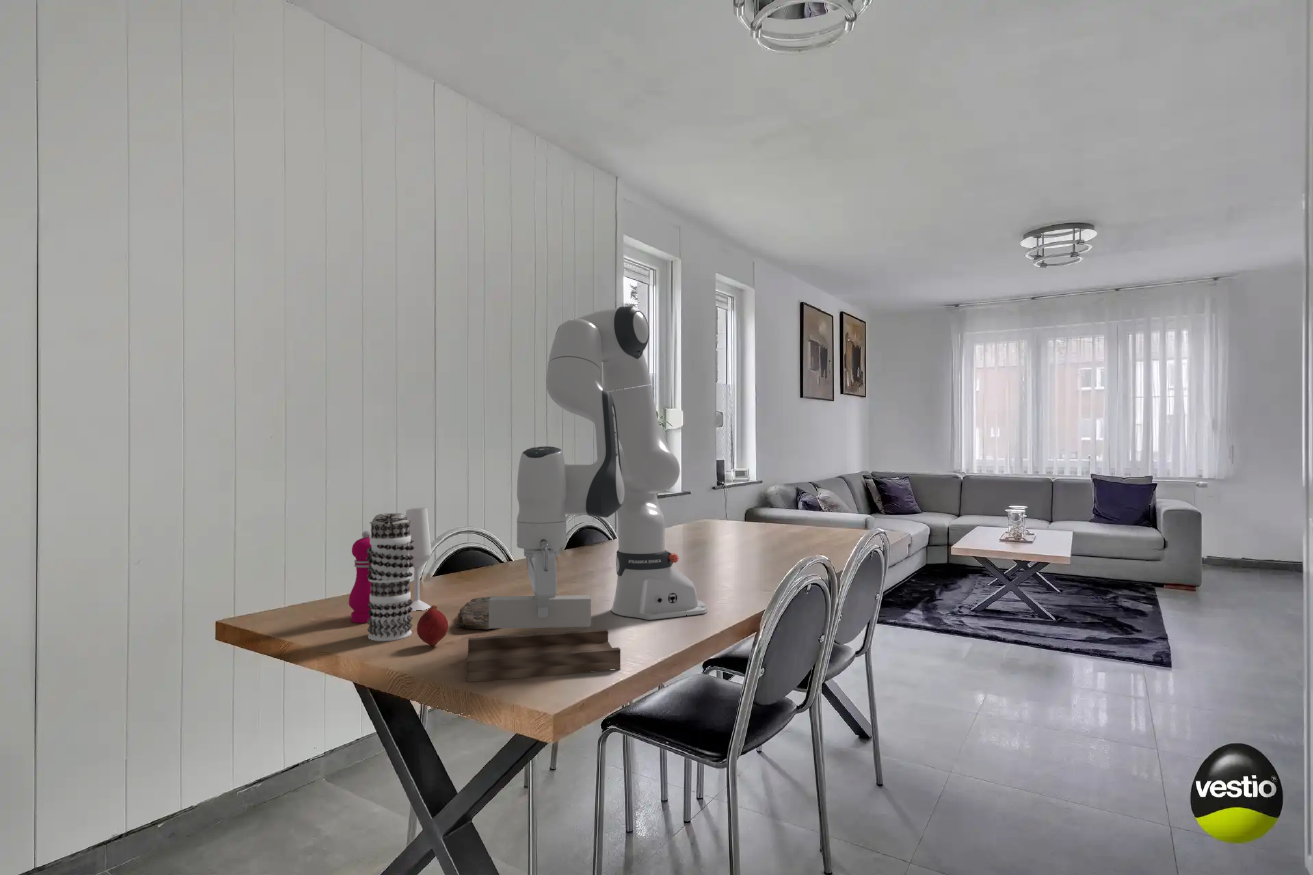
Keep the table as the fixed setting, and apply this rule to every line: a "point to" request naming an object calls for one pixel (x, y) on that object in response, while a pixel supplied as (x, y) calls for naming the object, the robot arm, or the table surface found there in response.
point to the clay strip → (525, 612)
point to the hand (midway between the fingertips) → (541, 613)
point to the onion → (432, 626)
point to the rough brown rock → (474, 614)
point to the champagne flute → (419, 548)
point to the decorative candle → (390, 577)
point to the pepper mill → (361, 581)
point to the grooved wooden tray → (540, 655)
